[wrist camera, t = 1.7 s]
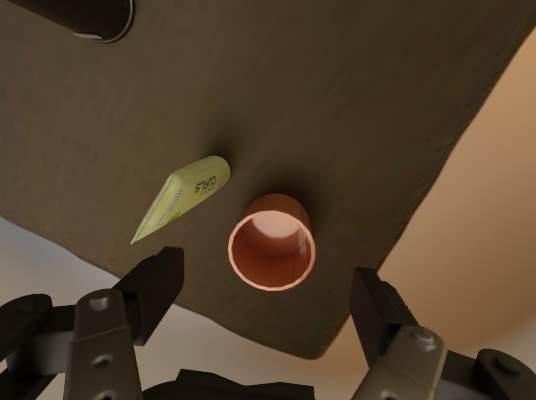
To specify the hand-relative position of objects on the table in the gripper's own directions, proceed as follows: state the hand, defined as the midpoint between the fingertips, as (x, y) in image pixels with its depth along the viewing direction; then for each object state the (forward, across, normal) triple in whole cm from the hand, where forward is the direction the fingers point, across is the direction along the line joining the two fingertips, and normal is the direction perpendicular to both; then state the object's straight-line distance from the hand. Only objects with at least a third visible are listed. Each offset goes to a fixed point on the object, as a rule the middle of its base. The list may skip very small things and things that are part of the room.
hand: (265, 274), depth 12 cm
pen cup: (+28, 0, +9) cm, 30 cm away
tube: (+29, +10, +1) cm, 31 cm away
